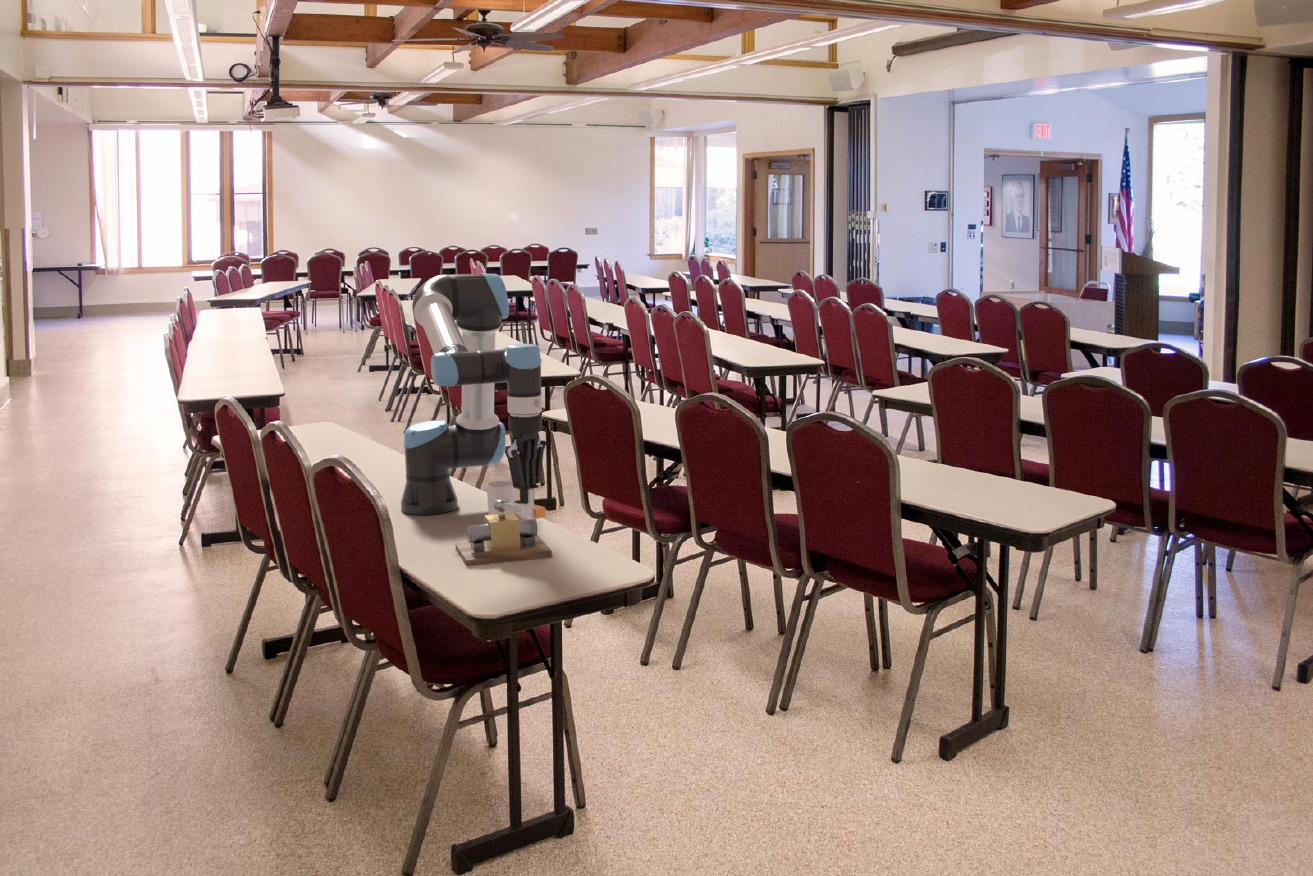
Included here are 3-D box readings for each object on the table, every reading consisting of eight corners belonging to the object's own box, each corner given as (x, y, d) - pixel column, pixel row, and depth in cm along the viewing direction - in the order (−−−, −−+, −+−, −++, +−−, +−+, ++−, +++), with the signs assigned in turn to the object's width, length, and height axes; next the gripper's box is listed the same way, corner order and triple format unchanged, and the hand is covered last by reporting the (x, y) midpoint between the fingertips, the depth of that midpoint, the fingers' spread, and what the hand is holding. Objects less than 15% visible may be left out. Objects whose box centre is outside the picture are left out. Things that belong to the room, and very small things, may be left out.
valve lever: (490, 508, 264) (490, 499, 264) (501, 505, 267) (501, 496, 266) (534, 519, 255) (534, 510, 254) (546, 516, 258) (546, 506, 257)
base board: (455, 549, 270) (455, 543, 269) (537, 540, 276) (537, 534, 276) (466, 566, 257) (466, 560, 256) (551, 556, 263) (551, 550, 263)
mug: (517, 531, 284) (516, 485, 281) (491, 534, 281) (489, 488, 279) (509, 521, 293) (508, 476, 290) (484, 524, 291) (482, 478, 288)
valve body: (466, 546, 267) (464, 508, 265) (532, 539, 272) (531, 502, 270) (472, 554, 260) (470, 516, 258) (539, 547, 266) (538, 509, 264)
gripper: (521, 419, 244) (524, 525, 248) (555, 411, 255) (557, 512, 259) (493, 417, 247) (497, 521, 252) (527, 408, 258) (530, 508, 263)
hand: (527, 516), depth 255 cm, fingers closed
